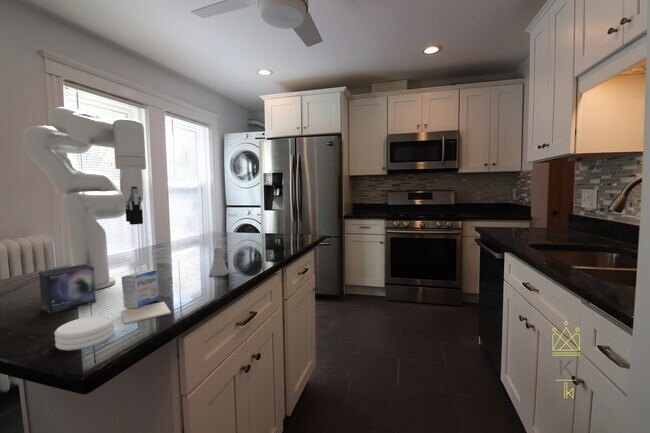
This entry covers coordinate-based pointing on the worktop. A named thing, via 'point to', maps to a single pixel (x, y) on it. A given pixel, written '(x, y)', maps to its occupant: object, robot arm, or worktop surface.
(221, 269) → the flask
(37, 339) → the worktop surface
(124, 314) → the mat
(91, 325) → the coaster
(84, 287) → the small box
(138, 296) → the medicine box
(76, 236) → the robot arm
